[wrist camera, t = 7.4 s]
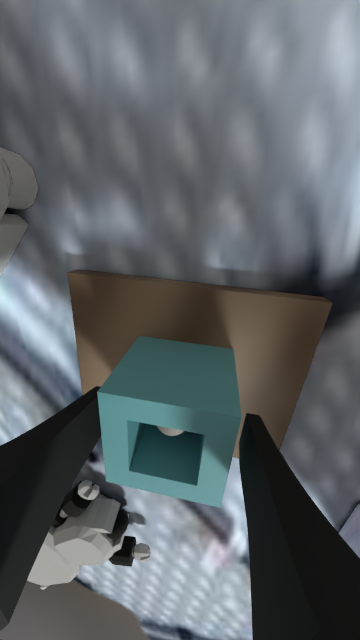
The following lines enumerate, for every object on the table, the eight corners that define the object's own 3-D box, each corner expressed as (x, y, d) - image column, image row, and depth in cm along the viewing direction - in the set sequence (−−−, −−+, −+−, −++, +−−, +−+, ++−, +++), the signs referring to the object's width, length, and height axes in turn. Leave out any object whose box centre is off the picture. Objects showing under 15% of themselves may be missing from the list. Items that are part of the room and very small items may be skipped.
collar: (233, 349, 13) (241, 417, 8) (220, 421, 15) (220, 507, 10) (139, 335, 13) (97, 391, 9) (139, 407, 16) (106, 481, 11)
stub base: (324, 297, 12) (388, 339, 7) (270, 452, 16) (289, 536, 12) (77, 269, 13) (7, 290, 9) (93, 417, 18) (52, 478, 14)
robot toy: (103, 446, 21) (-7, 480, 25) (78, 499, 17) (-51, 531, 20) (163, 524, 24) (58, 544, 28) (154, 585, 20) (32, 599, 24)
